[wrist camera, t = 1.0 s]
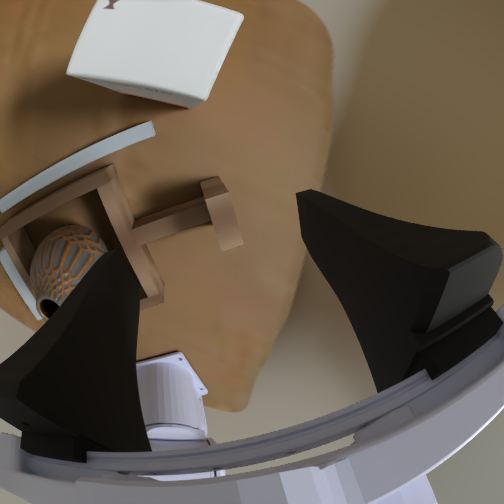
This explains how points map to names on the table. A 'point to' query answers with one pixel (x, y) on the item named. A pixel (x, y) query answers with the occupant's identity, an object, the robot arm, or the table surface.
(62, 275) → the vase
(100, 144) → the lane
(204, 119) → the table surface
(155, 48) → the skincare box
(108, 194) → the wooden handled frame
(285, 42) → the table surface
